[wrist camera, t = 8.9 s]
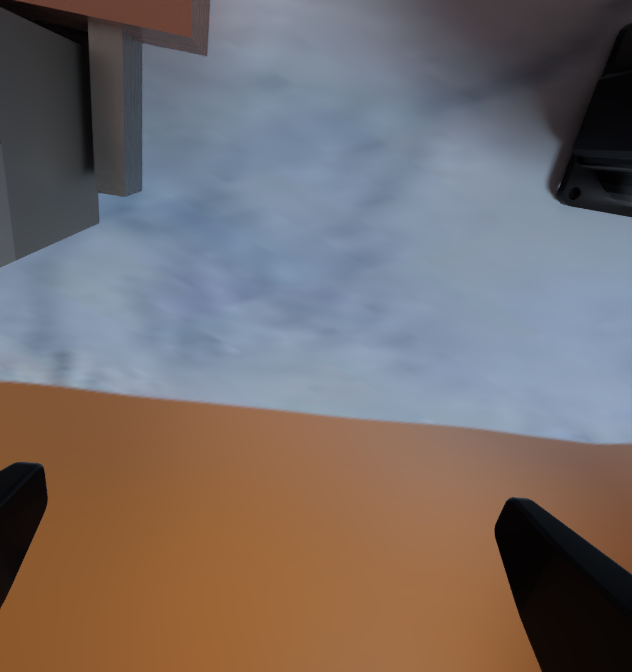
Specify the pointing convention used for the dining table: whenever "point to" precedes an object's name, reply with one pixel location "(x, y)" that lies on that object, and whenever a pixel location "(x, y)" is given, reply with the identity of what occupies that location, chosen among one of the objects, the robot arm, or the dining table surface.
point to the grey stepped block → (43, 139)
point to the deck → (121, 68)
